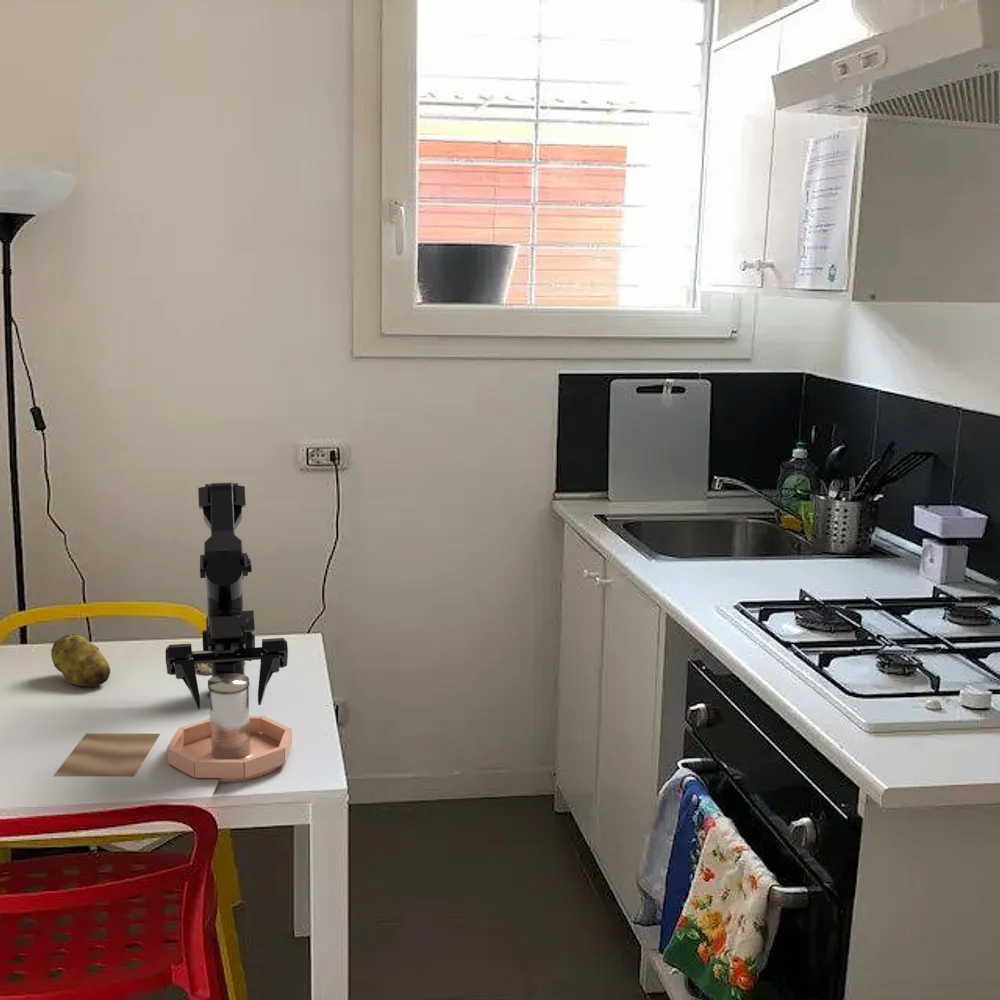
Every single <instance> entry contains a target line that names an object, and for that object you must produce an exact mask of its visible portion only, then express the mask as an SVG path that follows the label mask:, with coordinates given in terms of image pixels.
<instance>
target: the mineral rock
mask: <svg viewBox="0 0 1000 1000" xmlns="http://www.w3.org/2000/svg"><path fill="white" fill-rule="evenodd" d="M245 665H246V661H244V666H245ZM194 666H195V673H196V674H201V675H208V676H209V675H212V663H207V664H204V663H199V664H194Z"/></svg>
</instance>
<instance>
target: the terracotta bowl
mask: <svg viewBox="0 0 1000 1000" xmlns="http://www.w3.org/2000/svg"><path fill="white" fill-rule="evenodd" d="M249 718H250V747H251V752H250V754H249V755H248V756H246V757H245V758H242V759H239V760H218V759H215V758H213V757H212V754H211V730H210V718H208V719H205V720H201V721H198V722H195V723H194V722H193V723H192V724H191V723H190V724H188V725H185V726H182V727H179V728H177V730H176V731H175V733H174V735H173V736H172V738H171V739H170V742H169V744H168V745H167V746H166V752H167V753H166V756H167V764H169V765H170V766H173V767H175V768H176V769H178V770H179V771H181V772H183V773H185V774H187V775H188V776H191V777H192V778H195V779H218V783H219V784H220V783H221V784H223V783H238V782H245V781H248V780H249V781H250V780H254V779H257V777H258V778H260V777H264V776H266V775H269V774H271V773H273V772H275V771H276V770H278V769H279V768H280V767H281V766H282V765H284V764H285V763H286V762H287V759H288V756H289V753H290V752H291V748H292V746H293V729H292V728H291V727H289V726H287V725H284V724H282V723H281V722H278V721H276V720H274V719H272V718H270V717H267V716H266V715H249ZM278 767H279V768H278ZM277 768H278V769H277ZM275 769H276V770H275ZM272 771H273V772H272ZM270 772H271V773H270ZM268 773H269V774H268ZM263 775H264V776H263ZM253 778H254V779H253Z"/></svg>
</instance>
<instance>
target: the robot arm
mask: <svg viewBox="0 0 1000 1000" xmlns="http://www.w3.org/2000/svg"><path fill="white" fill-rule="evenodd" d="M197 491H198V496H197V497H198V508H199V509H198V510H202V512H203V521H204V523H205V525H206V526H207V527H208V528H209V530H210V535H211V536H210V537H208V538H207V540H206V539H205V541H204V543H203V544H204V545H203V547H204V550H203V551H204V552H203V554H199V574H200V575H199V576H200V579H204V580H205V589H206V600H207V601H206V602H207V603H206V605H207V606H206V607H207V609H206V611H207V616H206V619H205V622H206V623H205V625H206V627H205V629H204V630H203V629H202V633H201V634H202V635H201V636H202V650H195V651H193V647H192V643H179V644H178V643H177V644H168V646H167V647H166V648H165V665H166V673H167V675H170V676H175V679H177V680H182V681H183V682H184V683H185V685H186V687H187V688H188V690H189V692H190V694H191V697H192V699H193V702H194V704H195V707H196V709H197V710H201V699H200V698H201V697H200V696H201V695H200V691H199V685H198V680H197V673H196V672H195V666H194V664H199V663H204V664H207V663H212V674H211V678H212V677H214V676H216V675H220V674H227V673H237V674H243V675H245V665H244V662H252V661H258V660H259V661H260V664H259V665H260V668H259V677H258V688H257V704H258V706H261V705H262V702H263V700H264V696H265V692H266V689H267V686H268V684H269V682H270V680H271V677H272V676H273V674H274V673H279V672H280V669H281V668H282V669H283V668H286V667H288V656H289V650H288V649H289V648H288V641H287V640H286V639H285V638H284V637H275V638H262V639H261V646H259V647H256V635H255V634H254V633H253V632H254V631H255V630H256V629H255V610H244V595H243V591H244V590H243V589H244V577H248V576H249V573H252V569H253V568H252V559H251V558H250V557H249V555H248V553H247V552H243V540H242V539H241V538H239V537H238V536H237V535H236V533H235V532H236V530H237V528H238V526H239V524H240V522H241V521H242V519H243V508H245V509H246V505H247V504H246V502H247V501H246V486H243V485H239V483H238V482H211V483H205V484H204V486H201V487H197ZM245 676H246V675H245ZM250 684H251V683H250V681H249V686H251V685H250ZM206 696H207V697H208V698H209V691H208V692H207V694H206Z"/></svg>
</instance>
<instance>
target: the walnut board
mask: <svg viewBox="0 0 1000 1000" xmlns="http://www.w3.org/2000/svg"><path fill="white" fill-rule="evenodd" d="M160 735H161V733H115V732H114V733H107V732H105V733H104V732H103V733H101V732H100V733H99V732H98V733H95V732H94V733H89V732H88V733H85V734H84V735H83V737H82V738H81V740H79V742H78V743H77V745H76V746H75V747H74V748H73V750H72V751H71V752H70V753H69V755H68V756H67V757H66V759H65V760H64V761H63V762H62V764H61V765H60V766H59V768H57V771H55V773H54V774H53V777H135V776H136V774H137V773H138V770H139V769H140V767H141V766H142V764H143V763H144V761H145V759H146V758H147V756H148V754H149V753H150V751H151V750H152V748H153V746H154V745H155V743H156V742H157V740H158V738H160Z"/></svg>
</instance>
